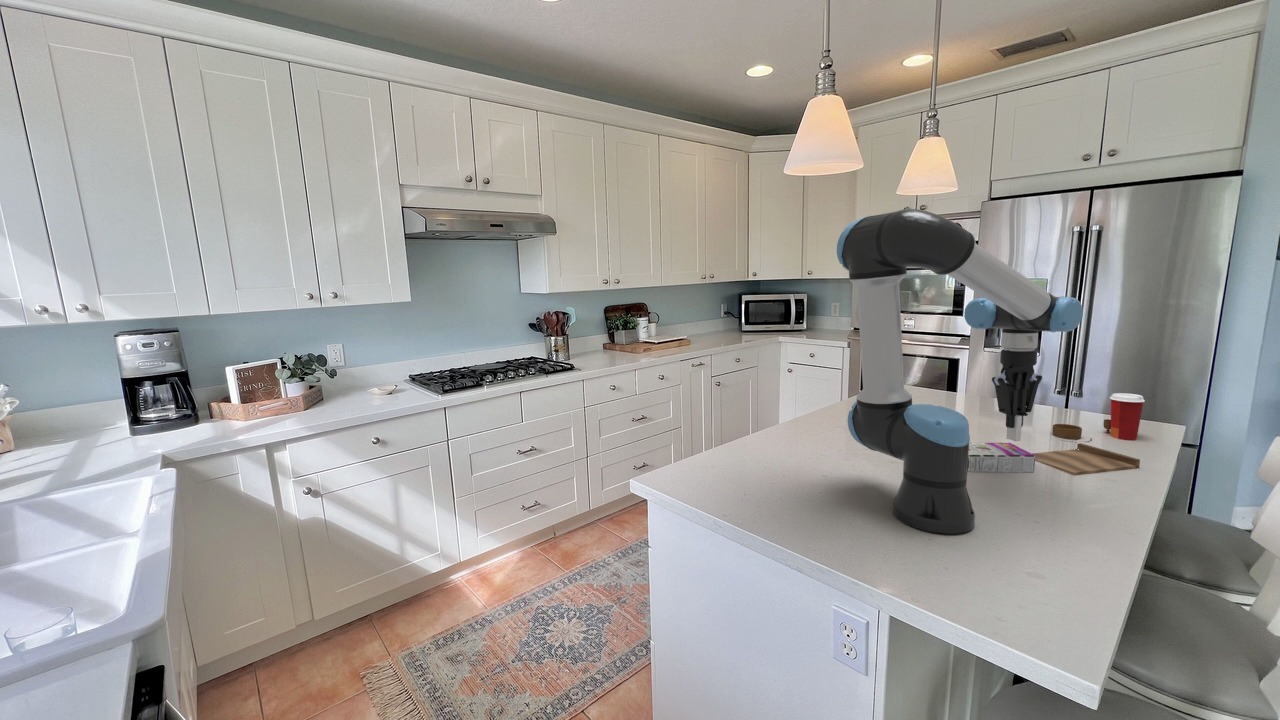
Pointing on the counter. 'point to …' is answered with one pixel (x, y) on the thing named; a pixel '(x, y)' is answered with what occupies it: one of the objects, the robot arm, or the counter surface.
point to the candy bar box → (999, 458)
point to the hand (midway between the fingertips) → (1013, 439)
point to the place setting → (1074, 430)
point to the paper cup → (1125, 415)
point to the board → (1086, 460)
